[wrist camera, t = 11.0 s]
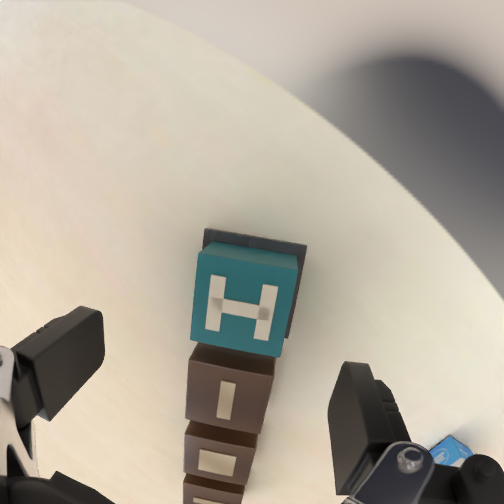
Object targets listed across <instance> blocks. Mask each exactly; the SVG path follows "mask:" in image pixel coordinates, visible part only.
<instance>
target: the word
mask: <svg viewBox="0 0 504 504" xmlns="http://www.w3.org/2000/svg"><path fill="white" fill-rule="evenodd" d="M213 241H215V242H221V243H227V244H233V245H238V246H244V247H250V248H256V249H262V250H268V251H273V252H279V253H285V254H291V255H296V256H297V265H298V274H297V279H296V284H295V289H294V294H293V299H292V304H291V309H290V314H289V318H288V323H287V328H286V332H285V337H284V338H287V339H288V336H289V331H290V327H291V322H292V318H293V313H294V308H295V304H296V299H297V294H298V289H299V284H300V279H301V275H302V270H303V264H304V259H305V254H306V249H307V245H302V244H297V243H291V242H285V241H279V240H274V239H268V238H262V237H256V236H250V235H244V234H238V233H232V232H226V231H220V230H214V229H208V228H205V230H204V239H203V247H202V250H203V249H204V248H205V247H207V246H208V245H209V244H210V243H212V242H213ZM275 361H276V357H274V356H268V355H262V354H257V353H251V352H246V351H241V350H235V349H230V348H225V347H220V346H216V345H211V344H206V343H202V342H198V344H197V346H196V347H195V349H194V351H193V353H192V355H191V356H190V358H189V363H188V378H187V394H186V413H185V418H186V419H189V420H190V422H189V425H188V427H187V429H186V432H185V438H184V472H185V473H186V476H185V478H184V481H183V504H241V501H242V498H243V494H244V489H245V485H246V484H247V480H248V477H249V473H250V470H251V466H252V462H253V459H254V455H255V451H256V446H257V439H258V434H260V432H261V428H262V424H263V420H264V416H265V412H266V408H267V404H268V400H269V396H270V392H271V388H272V383H273V379H274V372H275Z"/></svg>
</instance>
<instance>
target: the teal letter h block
mask: <svg viewBox="0 0 504 504" xmlns="http://www.w3.org/2000/svg"><path fill="white" fill-rule="evenodd" d="M297 274H298V265H297V256H296V255H291V254H285V253H279V252H273V251H268V250H262V249H256V248H250V247H244V246H238V245H233V244H227V243H221V242H215V241H213V242H212V243H210V244H209V245H208V246H207V247H205V248H204V249H203V250H202V251H201V252H199V253H198V261H197V271H196V280H195V290H194V301H193V312H192V323H191V335H190V340H193V341H197V342H202V343H206V344H211V345H216V346H220V347H225V348H230V349H235V350H241V351H246V352H251V353H257V354H262V355H268V356H274V357H280V355H281V350H282V346H283V341H284V337H285V332H286V328H287V323H288V318H289V314H290V309H291V304H292V299H293V294H294V289H295V284H296V279H297Z"/></svg>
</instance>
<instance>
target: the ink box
mask: <svg viewBox="0 0 504 504" xmlns="http://www.w3.org/2000/svg"><path fill="white" fill-rule="evenodd" d="M429 452H430V453H431V455H432V456H433V458H434V462H435V463H437V464H442V465H448V466H455V467H460V466H461V465H462V463H463V462H464V461H465V459H466V458H468V457H469V456H471V455H473V453H472V451H471V450H470V449H469V448H467V447H466V446H464V445H463V444H462V443H460V442H459V441H457V440H456V439H454V438H453V437H452V436H449V437H447V438H446V439H445V440H444V441H442V442H441V443H440V444H438V445H437V446H436V447H434V448H433V449H432V450H431V451H429Z"/></svg>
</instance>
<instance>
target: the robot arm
mask: <svg viewBox="0 0 504 504" xmlns="http://www.w3.org/2000/svg"><path fill="white" fill-rule="evenodd" d="M104 356H105V344H104V328H103V316H102V313H101V312H100V311H98V310H94V309H91V308H88V307H84V306H79V307H77V308H76V309H74V310H73V311H71V312H70V313H69V314H67V315H65V316H62V317H58V318H55V319H53V320H51V321H50V322H48V323H47V324H45V325H44V327H41V328H40V329H38V330H37V331H36V333H35V332H34V333H32V334H31V335H29V336H28V337H26V338H25V339H24V340H22V341H21V342H19V343H18V344H16V345H15V346H14V347H12V348H11V349H9V348H7V347H4V346H0V504H115V503H113V502H112V501H110V500H109V499H107V498H106V497H105V496H103V495H102V494H100V493H99V492H98V491H96V490H95V489H93V488H91V487H88V486H86V485H84V484H82V483H80V482H78V481H76V480H74V479H72V478H70V477H68V476H66V475H64V474H62V473H60V472H58V471H56V472H55V473H54V475H53V476H52V477H51V479H50V480H49V479H44V478H40V475H39V471H38V465H37V454H36V440H35V424H34V421H33V418H34V417H35V416H36V415H38V416H40V417H42V418H43V419H45V420H47V421H49V422H50V421H51V420H52V419H53V418H54V416H55V415H56V414H57V413H58V412H59V411H60V410H61V409H62V408H63V407H64V405H65V404H66V403H67V402H68V401H69V400H70V399H71V398H72V397H73V396H74V394H75V393H76V392H77V391H78V390H79V389H80V388H81V387H82V386H83V385H84V384H85V383H86V381H87V380H88V379H89V378H90V377H91V376H92V375H93V374H94V373H95V372H96V371H97V370H98V369H99V368H100V366H101V365H102V363H103V360H104ZM398 411H399V409H398V406H397V404H396V403H395V399H394V397H393V394H392V392H391V390H390V389H389V388H388V387H387V386H386V385H385V384H384V383H383V382H382V381H381V380H374V377H373V375H372V372H371V369H370V367H369V365H368V364H366V363H356V362H347V361H345V362H344V363H343V365H342V367H341V370H340V373H339V376H338V379H337V382H336V384H335V387H334V390H333V393H332V396H331V398H330V402H329V406H328V424H329V432H330V440H331V449H332V458H333V467H334V477H335V487H336V495H349V497H347V498H346V499H345V500H344V501H343V502H342V503H341V504H504V472H503V470H502V468H501V466H500V465H499V464H498V462H496V461H495V460H494V459H493V458H491V457H489V456H486V455H482V454H475V455H471V456H469V457H468V458H466V459H465V461H464V462H463V463H462V465H461V466H460V467H455V466H448V465H442V464H437V463H435V462H434V458H433V456H432V455H431V453H430V452H429V451H428V450H427V449H426V448H424V447H423V446H421V445H419V444H416V443H413V442H411V439H410V437H409V434H408V431H407V429H406V426H405V424H404V421H403V419H402V416H401V414H400V412H398Z"/></svg>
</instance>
